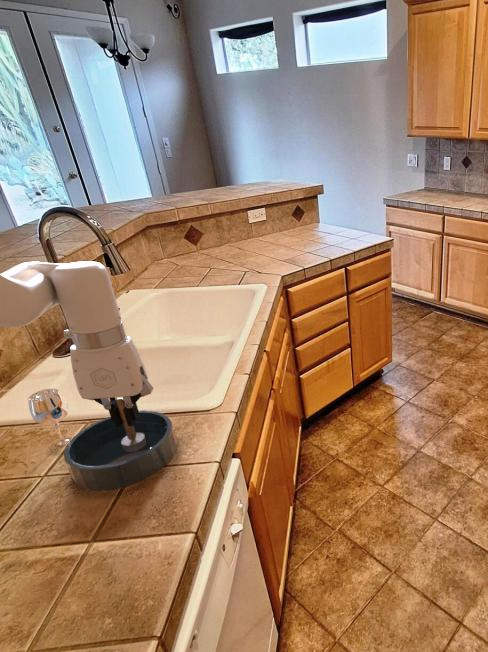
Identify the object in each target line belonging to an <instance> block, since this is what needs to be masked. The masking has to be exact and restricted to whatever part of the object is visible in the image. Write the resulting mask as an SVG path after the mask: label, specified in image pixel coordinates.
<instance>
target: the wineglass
mask: <svg viewBox="0 0 488 652" xmlns="http://www.w3.org/2000/svg"><path fill="white" fill-rule="evenodd" d="M28 409H29V413H30V416H31V418H32V419H33V421H34V422H35V423H36V424H39V425H42V426H49V425H50V426H51V425H52V427H53V429H54V430H55V432H56V433H57V435H58V437H59V441H58V442H56V445H57V446H64V445H67V444H68V443H69V442H70V440H69V439H68V438H64V437H63V435H62V433H61V426H60V424H59V422H61V421H63V420H64V419H66V417H67V416H68V414H69V405H68V402H67V400H66V398H65V397H64V395H63V394H62V393H61V391H59V389H57V388H45V389H41V390H38V391H35V392H34V393H32V394H31V395H29V396H28Z"/></svg>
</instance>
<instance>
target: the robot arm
mask: <svg viewBox="0 0 488 652" xmlns="http://www.w3.org/2000/svg"><path fill="white" fill-rule="evenodd" d="M112 284H113V283H112V281H111V278H110V274H109V272H108V269H107V268H106V267H105V265H103V264H102V263H101V262H97V261H76V262H69V263H54V262H41V261H29V262H28V261H27V262H22V263H19V264H16V265H14V266H12V267H11V268H9V269H7V270H5V271H3V272H2V273H0V327H3V328H20V327H24V326H28V325H30V324H32V323H34V322H35V321H37V320H38V319H39V318H40V317H41V316H42V315H44V314H45V313H46V312H47V311H48V310H50V309H52V308H54V307H56V306H58V305H60V307H61V310H62V312H63V316H64V318H65V321H66V324H67V327H68V329H65V330H63V333H62V335H63V337H64V338H65V339H71V341H72V343H73V344H72V345H70V347H69V353H70V354H69V355H70V365H71V371H72V374H73V378H74V382H75V386H76V389H77V392H78V394H79V395H80V398H82V399H84V400H89V401H95V403H97V404H98V405H99V404H100V405H101V406H103V409H104V410H106V411H108V413H109V415H110V416H109V417H111V419H112V421H114V424H115V427H120V426H121V425H122V424H123V422H122V419H121V416H120V413H119V410H118V407H117V404H116V401H117V400H118V398H123V400H124V403H125V408H124V409H123V411H124V414H125V418H126V421H127V424H128V426H133V425H134V424H135V422H136V420H137V419H138V418H139V411H140V410H139V408H138V403H137V402H138V401H140V398H144V397H147V396H148V395H149V396H150V395H151V394H152V393H153V391H154V387H153V385H152V384H151V383H150V382H149V379H148V378H149V377H148V373H147V370H146V366H145V364H144V361H143V359H142V356H141V353H140V352H139V349H138V348H137V346H136V344H135V342H134V340H133V339H132V337H131V336H128V335H127V333H126V330H125V329H126V328H125V326H124V322H123V320H122V319H123V318H122V316H121V312H120V309H119V305H118V302H117V298H116V294H115V291H114V288H113V285H112Z"/></svg>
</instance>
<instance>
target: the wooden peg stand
mask: <svg viewBox="0 0 488 652" xmlns="http://www.w3.org/2000/svg"><path fill="white" fill-rule="evenodd" d="M116 404H117V407H118V410H119V413H120V416H121V419H122V422H123V425H124V428H125V431H126V434H127V436H126V437H124V438H123V439H122V441H121V444H122V447H123V450H124V451H126V452H134V451H137V450H140V449H141V448H143V447H144V446H145V445H146V439H145V435H144V434H143V433H136V432H135V429H134V426H128V424H127V421H126V418H125V414H124V411H123V409H124V408H125V403H124V400H123V397H118V398H117V401H116Z"/></svg>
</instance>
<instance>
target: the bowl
mask: <svg viewBox="0 0 488 652" xmlns="http://www.w3.org/2000/svg"><path fill="white" fill-rule="evenodd" d="M138 411H139V418H138V419H137V420H136V422H135V424H134V425H133V426H134V429H135V432H136V433H143V434H144V435H145V439H146V445H145V446H144V447H143V448H141V449H140V450H137V451H134V452H126V451H124V450H123V447H122V444H121V441H122V439H123V438H124V437H126V436H127V434H126V431H125V428H124V425H123V424H122V425H121V426H120V427H115V424H114V421H112V419H111V416H108V417H105V418H103V419H100V420H98V421H96V422H94V423H92V424H90V425H88V426H87V427H85V428H83V429H81V430H80V431H79V432H78V433H77V434H76V435H74V436H73V437H72V438H71V440H69V442H68V443H66V446H65V448H64V451H63V459H64V462H65V464H66V466H67V469H68V472H69V474H70V476H71V479H72V481H73V482H74V483H75V484H76V486H78V487H80V488H82V489H84V490H87V491H88V490H89V491H94V492H95V491H98V492H104V491H115V490H117V489H123V488H127V487H129V486H132V485H135V484H137V483H140V482H142V481H144V480H146V479H148V478H150V477H151V476H153V475H155V474H156V473H158V472H159V471H161V470H162V469H163V468H164V467H166V465H168V464H169V462H171V460H172V459H173V457H174V456H175V455H176V452H177V448H178V447H177V446H178V441H177V438H176V437H177V436H176V434H175V429H174V425H173V423H172V421H171V419H170V417H169V416H167V415H166V414H164V413H162V412H159V411H156V410H145V409H144V410H138Z"/></svg>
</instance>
